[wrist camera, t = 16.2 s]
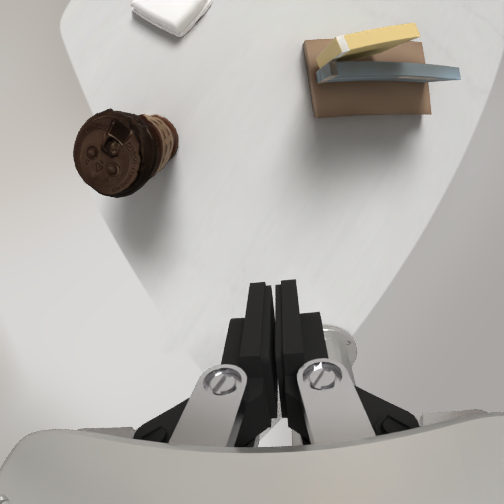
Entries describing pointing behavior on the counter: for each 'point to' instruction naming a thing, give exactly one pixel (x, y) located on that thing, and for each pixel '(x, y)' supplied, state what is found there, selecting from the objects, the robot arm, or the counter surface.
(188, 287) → the counter surface
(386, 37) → the yellow flat slab
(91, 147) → the coffee cup
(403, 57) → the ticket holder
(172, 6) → the soap
